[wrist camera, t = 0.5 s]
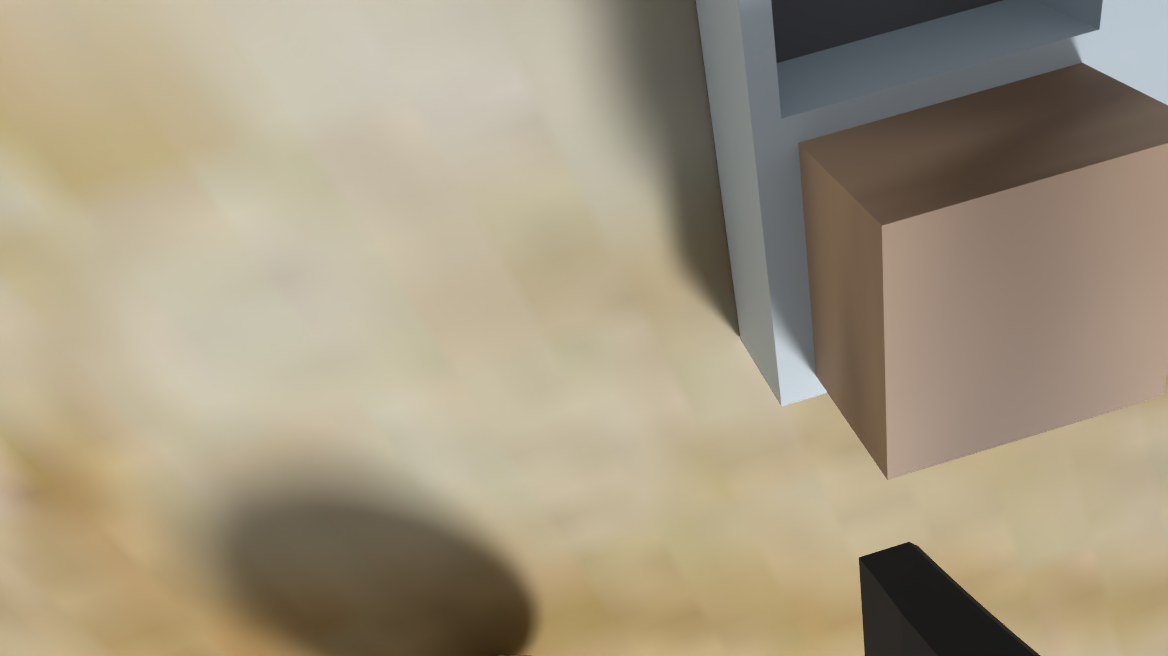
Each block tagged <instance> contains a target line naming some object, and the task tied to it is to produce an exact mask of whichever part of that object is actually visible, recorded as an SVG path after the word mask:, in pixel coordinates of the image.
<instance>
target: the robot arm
mask: <svg viewBox="0 0 1168 656" xmlns="http://www.w3.org/2000/svg"><path fill="white" fill-rule="evenodd" d="M859 566H860V583H861V599H862V615H863V632H864V648H865V656H1040V655H1039V654H1038V653H1036V652H1035V651H1034V650H1033V649H1032V648H1030V647H1029V646H1028V645H1027V644H1026V643H1025V642H1023V641H1022V640H1021V639H1020V638H1019V637H1017V636H1016V635H1015V634H1014V633H1013V632H1012V631H1010V630H1009V629H1008V628H1007V627H1006V626H1005V625H1004V624H1002V623H1001V622H1000V621H999V620H998V619H997V618H995V617H994V616H993V615H992V614H991V613H990V612H989V611H987V610H986V609H985V608H984V607H983V606H982V605H981V604H980V603H978V602H977V601H976V600H975V599H974V598H973V597H972V596H971V595H970V594H968V593H967V592H966V591H965V590H964V589H963V588H962V587H961V586H960V585H959V584H957V583H956V582H955V581H954V580H953V579H952V578H951V577H950V576H949V575H948V574H947V573H946V572H945V571H943V570H942V569H941V568H940V567H939V566H938V565H937V564H936V563H935V562H934V561H933V560H932V559H931V558H930V557H929V556H928V555H927V554H926V553H924V552H923V551H922V550H921V549H920V548H919V547H918V546H917V545H914V544H912V543H910V542H907V543H904V544H901V545H898V546H894V547H891V548H888V549H885V550H882V551H878V552H875V553H872V554H869V555H866V556H863V557H859Z"/></svg>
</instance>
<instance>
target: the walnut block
mask: <svg viewBox="0 0 1168 656" xmlns="http://www.w3.org/2000/svg"><path fill="white" fill-rule="evenodd" d="M798 146H799V159H800V172H801V185H802V198H803V211H804V224H805V237H806V250H807V263H808V276H809V289H810V302H811V315H812V328H813V341H814V354H815V367H816V377H817V378H818V380H819V381H820V382H821V384H822V385H823V387H824V388H825V390H826V391H827V393H828V394H829V396H830V397H831V398H832V400H833V401H834V403H835V404H836V406H837V407H838V409H839V410H840V411H841V413H842V414H843V416H844V417H845V419H846V420H847V422H848V423H849V425H850V426H851V427H852V429H853V430H854V432H855V433H856V435H857V436H858V438H859V439H860V441H861V442H862V443H863V445H864V446H865V448H866V449H867V451H868V452H869V454H870V455H871V456H872V458H873V459H874V461H875V462H876V464H877V465H878V467H879V468H880V470H881V471H882V472H883V474H884V475H885V477H886V478H887V480H889V479H892V478H895V477H898V476H902V475H905V474H908V473H912V472H915V471H918V470H921V469H925V468H928V467H931V466H935V465H938V464H941V463H944V462H948V461H951V460H954V459H958V458H961V457H964V456H967V455H971V454H974V453H977V452H981V451H984V450H987V449H990V448H994V447H997V446H1000V445H1004V444H1007V443H1010V442H1013V441H1017V440H1020V439H1023V438H1027V437H1030V436H1033V435H1036V434H1040V433H1043V432H1046V431H1050V430H1053V429H1056V428H1059V427H1063V426H1066V425H1069V424H1073V423H1076V422H1079V421H1082V420H1086V419H1089V418H1092V417H1096V416H1099V415H1102V414H1105V413H1109V412H1112V411H1115V410H1119V409H1122V408H1125V407H1128V406H1132V405H1135V404H1138V403H1142V402H1145V401H1148V400H1151V399H1155V398H1158V397H1161V396H1163V392H1164V387H1165V382H1166V377H1167V372H1168V105H1166V104H1164V103H1162V102H1160V101H1158V100H1156V99H1154V98H1152V97H1150V96H1148V95H1146V94H1144V93H1142V92H1140V91H1138V90H1136V89H1134V88H1132V87H1130V86H1128V85H1126V84H1124V83H1122V82H1120V81H1118V80H1116V79H1114V78H1112V77H1110V76H1108V75H1106V74H1104V73H1102V72H1100V71H1098V70H1096V69H1094V68H1092V67H1090V66H1088V65H1086V64H1084V63H1079V64H1075V65H1072V66H1068V67H1065V68H1061V69H1058V70H1054V71H1051V72H1047V73H1044V74H1040V75H1036V76H1033V77H1029V78H1026V79H1022V80H1019V81H1015V82H1012V83H1008V84H1005V85H1001V86H998V87H994V88H990V89H987V90H983V91H980V92H976V93H973V94H969V95H966V96H962V97H959V98H955V99H952V100H948V101H944V102H941V103H937V104H934V105H930V106H927V107H923V108H920V109H916V110H913V111H909V112H906V113H902V114H898V115H895V116H891V117H888V118H884V119H881V120H877V121H874V122H870V123H867V124H863V125H860V126H856V127H853V128H849V129H845V130H842V131H838V132H835V133H831V134H828V135H824V136H821V137H817V138H814V139H810V140H807V141H803V142H799V143H798Z"/></svg>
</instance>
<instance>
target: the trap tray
mask: <svg viewBox="0 0 1168 656" xmlns="http://www.w3.org/2000/svg"><path fill="white" fill-rule="evenodd" d="M696 6H697V14H698V21H699V29H700V36H701V44H702V52H703V59H704V67H705V74H706V82H707V89H708V97H709V105H710V112H711V120H712V127H713V135H714V142H715V150H716V157H717V165H718V173H719V180H720V188H721V195H722V203H723V210H724V218H725V226H726V233H727V241H728V248H729V256H730V263H731V271H732V278H733V286H734V294H735V301H736V309H737V316H738V324H739V331H740V339H741V341H742V342H743V344H744V346H745V347H746V349H747V351H748V352H749V354H750V356H751V357H752V359H753V360H754V362H755V364H756V365H757V367H758V369H759V370H760V372H761V374H762V375H763V377H764V378H765V380H766V382H767V383H768V385H769V387H770V388H771V390H772V392H773V393H774V395H775V396H776V398H777V400H778V401H779V403H780V405H781V406H785V405H788V404H791V403H795V402H798V401H801V400H805V399H808V398H812V397H815V396H818V395H822V394H825V393H827V391H826V390H825V388H824V387H823V385H822V384H821V382H820V381H819V380H818V378H817V377H816V367H815V354H814V341H813V328H812V315H811V302H810V289H809V276H808V263H807V250H806V237H805V224H804V211H803V198H802V185H801V172H800V159H799V146H798V143H799V142H803V141H807V140H810V139H814V138H817V137H821V136H824V135H828V134H831V133H835V132H838V131H842V130H845V129H849V128H853V127H856V126H860V125H863V124H867V123H870V122H874V121H877V120H881V119H884V118H888V117H891V116H895V115H898V114H902V113H906V112H909V111H913V110H916V109H920V108H923V107H927V106H930V105H934V104H937V103H941V102H944V101H948V100H952V99H955V98H959V97H962V96H966V95H969V94H973V93H976V92H980V91H983V90H987V89H990V88H994V87H998V86H1001V85H1005V84H1008V83H1012V82H1015V81H1019V80H1022V79H1026V78H1029V77H1033V76H1036V75H1040V74H1044V73H1047V72H1051V71H1054V70H1058V69H1061V68H1065V67H1068V66H1072V65H1075V64H1079V63H1084V64H1086V65H1088V66H1090V67H1092V68H1094V69H1096V70H1098V71H1100V72H1102V73H1104V74H1106V75H1108V76H1110V77H1112V78H1114V79H1116V80H1118V81H1120V82H1122V83H1124V84H1126V85H1128V86H1130V87H1132V88H1134V89H1136V90H1138V91H1140V92H1142V93H1144V94H1146V95H1148V96H1150V97H1152V98H1154V99H1156V100H1158V101H1160V102H1162V103H1164V104H1166V105H1168V0H696Z"/></svg>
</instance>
